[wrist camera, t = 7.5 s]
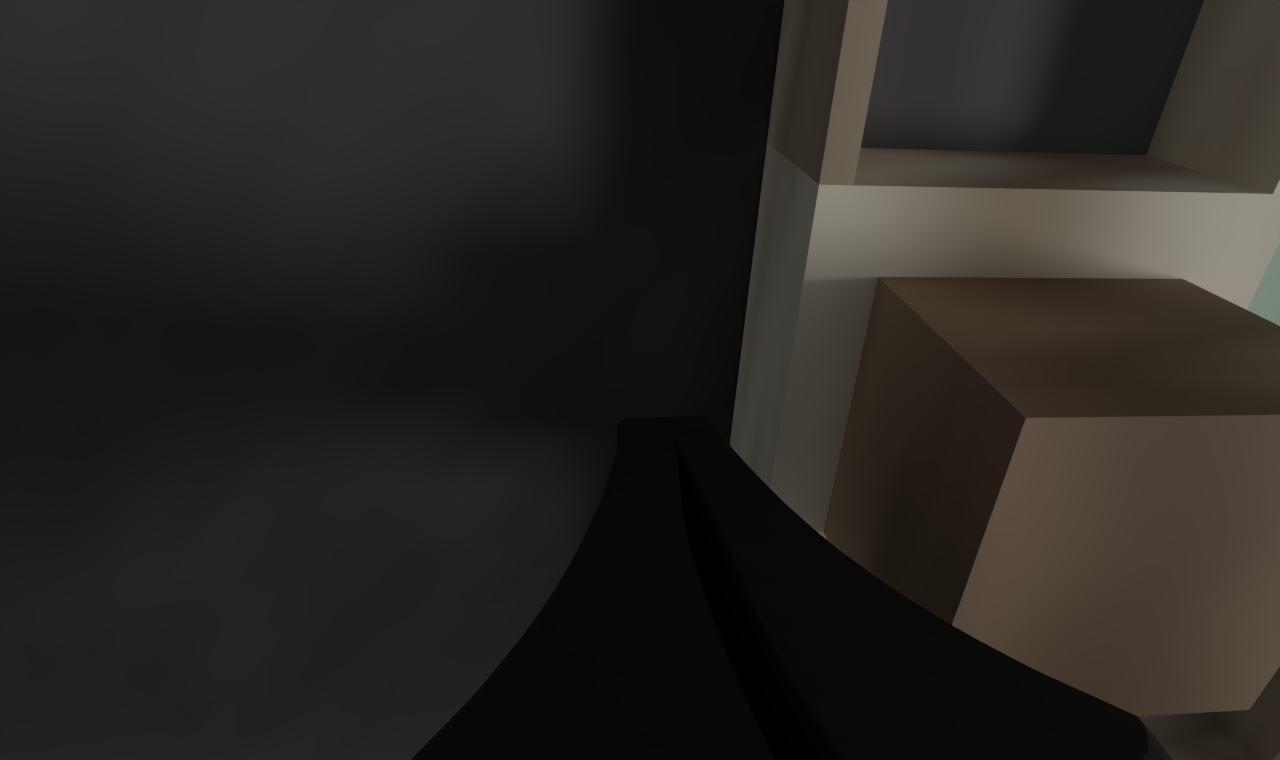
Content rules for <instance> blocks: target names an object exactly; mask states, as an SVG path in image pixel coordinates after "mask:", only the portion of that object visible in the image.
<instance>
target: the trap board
mask: <svg viewBox="0 0 1280 760" xmlns="http://www.w3.org/2000/svg"><path fill="white" fill-rule="evenodd" d="M878 277H977V278H1116V279H1184V280H1186V281H1189V282H1191V283H1193V284H1195V285H1197V286H1199V287H1201V288H1203V289H1205V290H1207V291H1209V292H1211V293H1213V294H1215V295H1217V296H1219V297H1221V298H1223V299H1225V300H1228V301H1230V302H1232V303H1234V304H1236V305H1238V306H1240V307H1242V308H1244V309H1246V310H1248V311H1250V312H1252V313H1254V314H1256V315H1258V316H1260V317H1262V318H1265V319H1267V320H1269V321H1271V322H1273V323H1275V324H1277V325H1279V326H1280V0H785V1H784V9H783V18H782V26H781V34H780V42H779V50H778V58H777V66H776V74H775V82H774V90H773V98H772V107H771V115H770V123H769V131H768V139H767V147H766V155H765V163H764V171H763V179H762V187H761V196H760V204H759V212H758V220H757V228H756V236H755V244H754V252H753V260H752V268H751V276H750V285H749V293H748V301H747V309H746V317H745V325H744V333H743V341H742V349H741V357H740V365H739V373H738V382H737V390H736V398H735V406H734V414H733V422H732V430H731V438H730V446H731V447H732V448H733V449H734V451H735V452H736V453H737V454H738V455H739V456H740V457H741V458H742V459H743V460H744V462H745V463H746V464H747V465H748V466H749V467H750V468H751V469H752V470H753V471H754V472H755V473H756V474H757V475H758V476H759V477H760V478H761V480H762V481H763V482H764V483H765V484H766V485H767V486H768V487H769V488H770V489H771V490H772V491H773V492H774V493H775V494H776V495H777V496H778V497H779V498H780V499H781V500H782V501H783V502H784V503H786V504H787V505H788V506H789V507H790V508H791V509H792V510H793V511H794V512H795V513H797V514H798V515H799V516H800V517H801V518H802V519H803V520H804V521H806V522H807V523H808V524H809V525H810V526H811V527H812V528H814V529H815V530H816V531H817V532H818V533H819V534H820V535H822V536H823V537H824V538H825V539H826V537H825V534H824V532H823V531H824V527H825V522H826V517H827V513H828V508H829V503H830V499H831V494H832V490H833V485H834V480H835V476H836V471H837V466H838V462H839V457H840V452H841V448H842V443H843V438H844V434H845V429H846V424H847V420H848V415H849V410H850V406H851V401H852V397H853V392H854V387H855V383H856V378H857V373H858V369H859V364H860V359H861V355H862V350H863V345H864V341H865V336H866V331H867V327H868V322H869V318H870V313H871V308H872V304H873V299H874V294H875V290H876V285H877V280H878ZM1138 717H1139V718H1140V720H1141V721H1142V722H1143V723H1144V724H1145V725H1146V727H1147V728H1148V729H1149V730H1150V731H1151V732H1152V734H1153V735H1154V736H1155V738H1156V739H1157V740H1158V741H1159V743H1160V744H1161V745H1162V746H1163V748H1164V749H1165V750H1166V752H1167V753H1168V754H1169V755H1170V757H1171V758H1172V759H1173V760H1280V667H1279V668H1278V670H1277V671H1276V673H1275V674H1274V675H1273V677H1272V678H1271V680H1270V681H1269V683H1268V684H1267V685H1266V687H1265V688H1264V690H1263V691H1262V693H1261V694H1260V695H1259V697H1258V698H1257V700H1256V701H1255V703H1254V704H1253V705H1252V707H1251V708H1250V710H1239V711H1221V712H1204V713H1186V714H1169V715H1151V716H1138Z"/></svg>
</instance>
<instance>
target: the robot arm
mask: <svg viewBox="0 0 1280 760" xmlns="http://www.w3.org/2000/svg"><path fill="white" fill-rule="evenodd" d="M412 760H1173V759H1172V758H1171V757H1170V755H1169V754H1168V753H1167V752H1166V750H1165V749H1164V748H1163V746H1162V745H1161V744H1160V743H1159V741H1158V740H1157V739H1156V738H1155V736H1154V735H1153V734H1152V732H1151V731H1150V730H1149V729H1148V728H1147V727H1146V725H1145V724H1144V723H1143V722H1142V721H1141V720H1140V718H1139V717H1138V716H1136V715H1134V714H1131V713H1129V712H1127V711H1125V710H1123V709H1120V708H1118V707H1116V706H1114V705H1112V704H1109V703H1107V702H1105V701H1103V700H1100V699H1098V698H1096V697H1094V696H1092V695H1089V694H1087V693H1085V692H1083V691H1081V690H1078V689H1076V688H1074V687H1072V686H1070V685H1067V684H1065V683H1063V682H1061V681H1059V680H1056V679H1054V678H1052V677H1050V676H1048V675H1045V674H1043V673H1041V672H1039V671H1037V670H1035V669H1033V668H1031V667H1029V666H1027V665H1025V664H1023V663H1021V662H1019V661H1017V660H1015V659H1013V658H1011V657H1010V656H1008V655H1006V654H1004V653H1002V652H1000V651H998V650H996V649H994V648H992V647H991V646H989V645H987V644H985V643H983V642H981V641H979V640H977V639H975V638H974V637H972V636H970V635H968V634H967V633H965V632H963V631H961V630H960V629H958V628H956V627H954V626H953V625H951V624H949V623H947V622H946V621H944V620H942V619H940V618H939V617H937V616H936V615H934V614H932V613H931V612H929V611H928V610H926V609H925V608H923V607H921V606H920V605H918V604H917V603H915V602H913V601H912V600H910V599H909V598H907V597H905V596H904V595H902V594H901V593H899V592H897V591H896V590H894V589H893V588H892V587H890V586H889V585H887V584H886V583H884V582H883V581H881V580H880V579H878V578H877V577H875V576H874V575H873V574H871V573H870V572H869V571H867V570H866V569H865V568H863V567H862V566H861V565H859V564H858V563H856V562H855V561H854V560H852V559H851V558H850V557H848V556H847V555H846V554H844V553H843V552H842V551H840V550H839V549H838V548H836V547H835V546H834V545H833V544H831V543H830V542H829V541H828V540H827V539H825V538H824V537H823V536H822V535H820V534H819V533H818V532H817V531H816V530H815V529H814V528H812V527H811V526H810V525H809V524H808V523H807V522H806V521H804V520H803V519H802V518H801V517H800V516H799V515H798V514H797V513H795V512H794V511H793V510H792V509H791V508H790V507H789V506H788V505H787V504H786V503H784V502H783V501H782V500H781V499H780V498H779V497H778V496H777V495H776V494H775V493H774V492H773V491H772V490H771V489H770V488H769V487H768V486H767V485H766V484H765V483H764V482H763V481H762V480H761V478H760V477H759V476H758V475H757V474H756V473H755V472H754V471H753V470H752V469H751V468H750V467H749V466H748V465H747V464H746V463H745V462H744V460H743V459H742V458H741V457H740V456H739V455H738V454H737V453H736V452H735V451H734V449H733V448H732V447H731V446H730V445H729V444H728V443H727V442H726V440H725V439H724V438H723V437H722V436H721V435H720V434H719V433H718V431H717V430H716V429H715V428H714V427H713V426H712V425H711V424H710V423H709V422H708V420H707V419H706V418H705V417H663V418H625V419H623V420H622V421H621V422H620V423H619V424H618V427H617V451H616V455H615V459H614V463H613V467H612V470H611V473H610V476H609V479H608V482H607V485H606V488H605V491H604V494H603V496H602V499H601V501H600V504H599V506H598V508H597V511H596V513H595V515H594V517H593V519H592V522H591V524H590V526H589V528H588V531H587V533H586V535H585V537H584V539H583V541H582V543H581V545H580V547H579V549H578V551H577V553H576V554H575V556H574V558H573V560H572V562H571V563H570V565H569V567H568V569H567V570H566V572H565V574H564V575H563V577H562V579H561V580H560V582H559V584H558V585H557V587H556V588H555V590H554V591H553V593H552V594H551V596H550V597H549V599H548V600H547V602H546V603H545V605H544V606H543V608H542V609H541V611H540V612H539V614H538V615H537V617H536V618H535V620H534V621H533V623H532V624H531V625H530V627H529V628H528V629H527V631H526V632H525V633H524V635H523V636H522V637H521V639H520V640H519V641H518V643H517V644H516V645H515V646H514V647H513V649H512V650H511V651H510V652H509V653H508V655H507V656H506V657H505V658H504V660H503V661H502V662H501V663H500V664H499V666H498V667H497V668H496V669H495V671H494V672H493V673H492V674H491V675H490V677H489V678H488V679H487V680H486V682H485V683H484V684H483V685H482V686H481V687H480V689H479V690H478V691H477V692H476V693H475V694H474V695H473V696H472V698H471V699H470V700H469V701H468V702H467V703H466V704H465V705H464V706H463V707H462V708H461V709H460V710H459V711H458V712H457V713H456V714H455V715H454V716H453V717H452V718H451V719H450V720H449V721H448V722H447V723H446V724H445V726H444V727H443V728H442V729H441V730H440V731H439V732H438V733H437V734H436V735H435V736H434V737H433V738H432V739H431V740H430V741H429V742H428V743H427V744H426V745H425V746H424V747H423V748H422V749H421V750H420V751H419V752H418V753H417V754H416V755H415V756H414V757H413V758H412Z"/></svg>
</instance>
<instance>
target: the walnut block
mask: <svg viewBox="0 0 1280 760" xmlns="http://www.w3.org/2000/svg"><path fill="white" fill-rule="evenodd" d="M823 532H824V534H825V537H826V539H827V540H828V541H829V542H830V543H831V544H833V545H834V546H835V547H836V548H838V549H839V550H840V551H842V552H843V553H844V554H846V555H847V556H848V557H850V558H851V559H852V560H854V561H855V562H856V563H858V564H859V565H861V566H862V567H863V568H865V569H866V570H867V571H869V572H870V573H871V574H873V575H874V576H875V577H877V578H878V579H880V580H881V581H883V582H884V583H886V584H887V585H889V586H890V587H892V588H893V589H894V590H896V591H897V592H899V593H901V594H902V595H904V596H905V597H907V598H909V599H910V600H912V601H913V602H915V603H917V604H918V605H920V606H921V607H923V608H925V609H926V610H928V611H929V612H931V613H932V614H934V615H936V616H937V617H939V618H940V619H942V620H944V621H946V622H947V623H949V624H951V625H953V626H954V627H956V628H958V629H960V630H961V631H963V632H965V633H967V634H968V635H970V636H972V637H974V638H975V639H977V640H979V641H981V642H983V643H985V644H987V645H989V646H991V647H992V648H994V649H996V650H998V651H1000V652H1002V653H1004V654H1006V655H1008V656H1010V657H1011V658H1013V659H1015V660H1017V661H1019V662H1021V663H1023V664H1025V665H1027V666H1029V667H1031V668H1033V669H1035V670H1037V671H1039V672H1041V673H1043V674H1045V675H1048V676H1050V677H1052V678H1054V679H1056V680H1059V681H1061V682H1063V683H1065V684H1067V685H1070V686H1072V687H1074V688H1076V689H1078V690H1081V691H1083V692H1085V693H1087V694H1089V695H1092V696H1094V697H1096V698H1098V699H1100V700H1103V701H1105V702H1107V703H1109V704H1112V705H1114V706H1116V707H1118V708H1120V709H1123V710H1125V711H1127V712H1129V713H1131V714H1134V715H1136V716H1151V715H1169V714H1186V713H1204V712H1221V711H1239V710H1250V708H1251V707H1252V705H1253V704H1254V703H1255V701H1256V700H1257V698H1258V697H1259V695H1260V694H1261V693H1262V691H1263V690H1264V688H1265V687H1266V685H1267V684H1268V683H1269V681H1270V680H1271V678H1272V677H1273V675H1274V674H1275V673H1276V671H1277V670H1278V668H1279V667H1280V326H1279V325H1277V324H1275V323H1273V322H1271V321H1269V320H1267V319H1265V318H1262V317H1260V316H1258V315H1256V314H1254V313H1252V312H1250V311H1248V310H1246V309H1244V308H1242V307H1240V306H1238V305H1236V304H1234V303H1232V302H1230V301H1228V300H1225V299H1223V298H1221V297H1219V296H1217V295H1215V294H1213V293H1211V292H1209V291H1207V290H1205V289H1203V288H1201V287H1199V286H1197V285H1195V284H1193V283H1191V282H1189V281H1186V280H1184V279H1116V278H977V277H878V280H877V285H876V290H875V294H874V299H873V304H872V308H871V313H870V318H869V322H868V327H867V331H866V336H865V341H864V345H863V350H862V355H861V359H860V364H859V369H858V373H857V378H856V383H855V387H854V392H853V397H852V401H851V406H850V410H849V415H848V420H847V424H846V429H845V434H844V438H843V443H842V448H841V452H840V457H839V462H838V466H837V471H836V476H835V480H834V485H833V490H832V494H831V499H830V503H829V508H828V513H827V517H826V522H825V527H824V531H823Z"/></svg>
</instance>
